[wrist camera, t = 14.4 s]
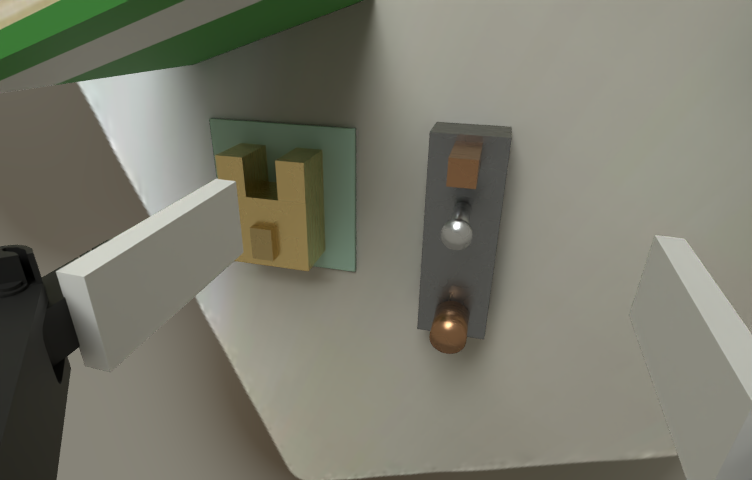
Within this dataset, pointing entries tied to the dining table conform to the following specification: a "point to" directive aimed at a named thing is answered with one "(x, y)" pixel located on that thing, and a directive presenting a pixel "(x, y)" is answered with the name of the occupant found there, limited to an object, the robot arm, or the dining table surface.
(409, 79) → the dining table surface
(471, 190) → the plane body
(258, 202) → the lever cap
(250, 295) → the dining table surface
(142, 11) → the hardback book
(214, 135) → the mat
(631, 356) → the dining table surface
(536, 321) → the dining table surface
